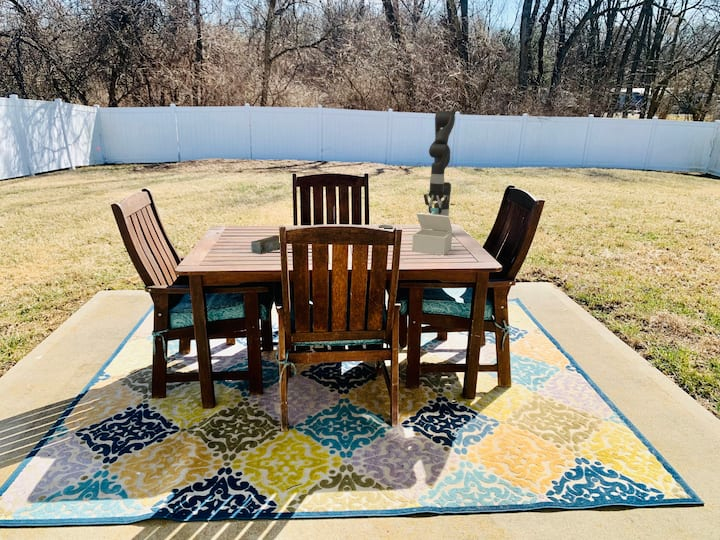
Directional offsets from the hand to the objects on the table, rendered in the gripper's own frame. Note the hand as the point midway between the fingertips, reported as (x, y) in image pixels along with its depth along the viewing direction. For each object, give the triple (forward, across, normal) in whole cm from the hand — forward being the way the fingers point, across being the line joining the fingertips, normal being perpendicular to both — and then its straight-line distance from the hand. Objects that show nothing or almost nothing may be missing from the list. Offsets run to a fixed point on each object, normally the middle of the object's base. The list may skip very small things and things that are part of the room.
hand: (434, 213), depth 276 cm
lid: (+5, 0, 0) cm, 5 cm away
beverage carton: (+22, +81, +42) cm, 94 cm away
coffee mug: (+21, +28, -1) cm, 35 cm away
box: (+21, 0, +1) cm, 21 cm away
